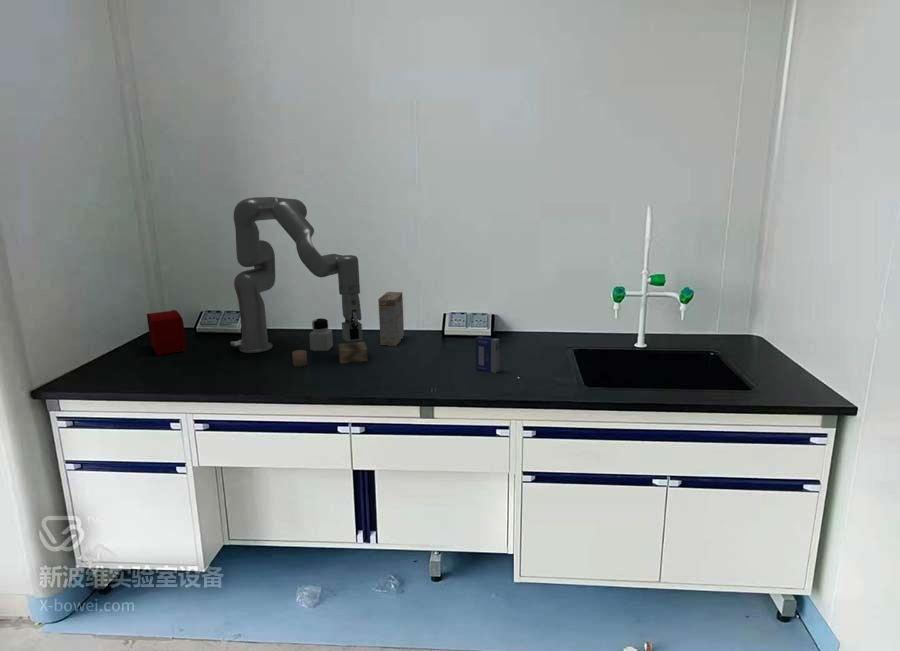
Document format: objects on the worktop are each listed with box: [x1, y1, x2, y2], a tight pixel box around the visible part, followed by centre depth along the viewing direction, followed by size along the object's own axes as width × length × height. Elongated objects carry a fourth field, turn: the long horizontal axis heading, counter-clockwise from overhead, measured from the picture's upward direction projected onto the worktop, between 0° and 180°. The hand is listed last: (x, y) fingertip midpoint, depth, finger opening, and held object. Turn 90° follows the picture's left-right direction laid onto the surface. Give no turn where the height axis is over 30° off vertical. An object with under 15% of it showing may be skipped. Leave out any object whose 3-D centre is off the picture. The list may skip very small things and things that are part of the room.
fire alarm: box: [146, 309, 187, 356], centre depth 229 cm, size 16×11×15 cm
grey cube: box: [341, 321, 363, 343], centre depth 213 cm, size 6×6×6 cm
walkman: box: [475, 335, 500, 374], centre depth 199 cm, size 8×3×12 cm, turn 60°
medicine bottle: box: [308, 317, 334, 352], centre depth 228 cm, size 7×7×12 cm
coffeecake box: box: [377, 291, 405, 347], centre depth 236 cm, size 15×7×20 cm, turn 172°
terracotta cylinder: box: [291, 349, 308, 368], centre depth 208 cm, size 5×5×5 cm
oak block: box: [338, 341, 369, 364], centre depth 215 cm, size 10×10×5 cm
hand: (352, 336), depth 214 cm, fingers closed on grey cube, 6 cm apart
